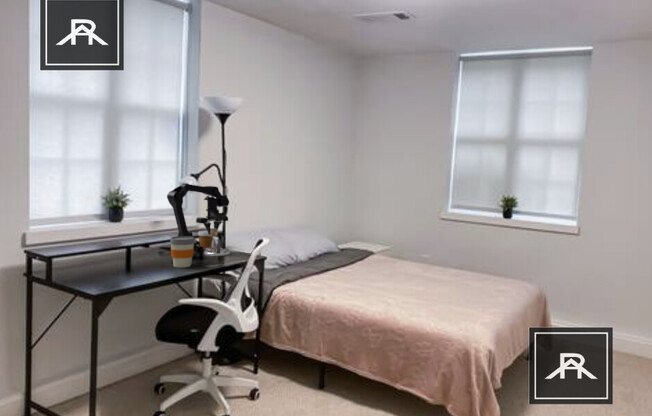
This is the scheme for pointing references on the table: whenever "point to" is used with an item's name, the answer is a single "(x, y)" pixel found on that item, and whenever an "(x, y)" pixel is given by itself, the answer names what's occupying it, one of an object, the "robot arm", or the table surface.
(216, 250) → the index wheel
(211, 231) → the link block
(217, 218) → the robot arm
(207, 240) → the disposable coffee cup
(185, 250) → the reusable coffee cup
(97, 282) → the table surface
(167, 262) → the table surface
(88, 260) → the table surface
